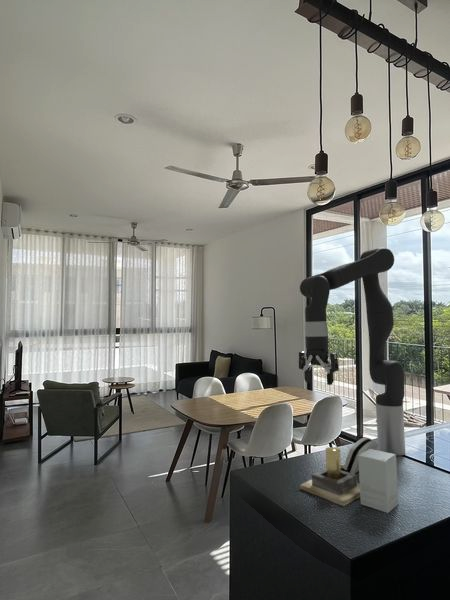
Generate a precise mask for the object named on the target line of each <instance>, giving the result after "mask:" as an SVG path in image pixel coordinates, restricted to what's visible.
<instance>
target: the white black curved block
mask: <svg viewBox="0 0 450 600" xmlns="http://www.w3.org/2000/svg"><path fill="white" fill-rule="evenodd" d="M368 449H373V450H378V442H377V441H375V440H372V438H368V437H362V438H360V439H358V440H357V441H356V442H355V443H354V444H353V445H352V446H351V447H350V449H349V452H348V454H347V456H346V459H345V462H344V463H341V470H342V471H343V469H344V471H349V473H351V474H354V475H356V473H357V472H358V473H359V461H358V455H360V454H361V453H363V452H365V451H367V450H368Z"/></svg>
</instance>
